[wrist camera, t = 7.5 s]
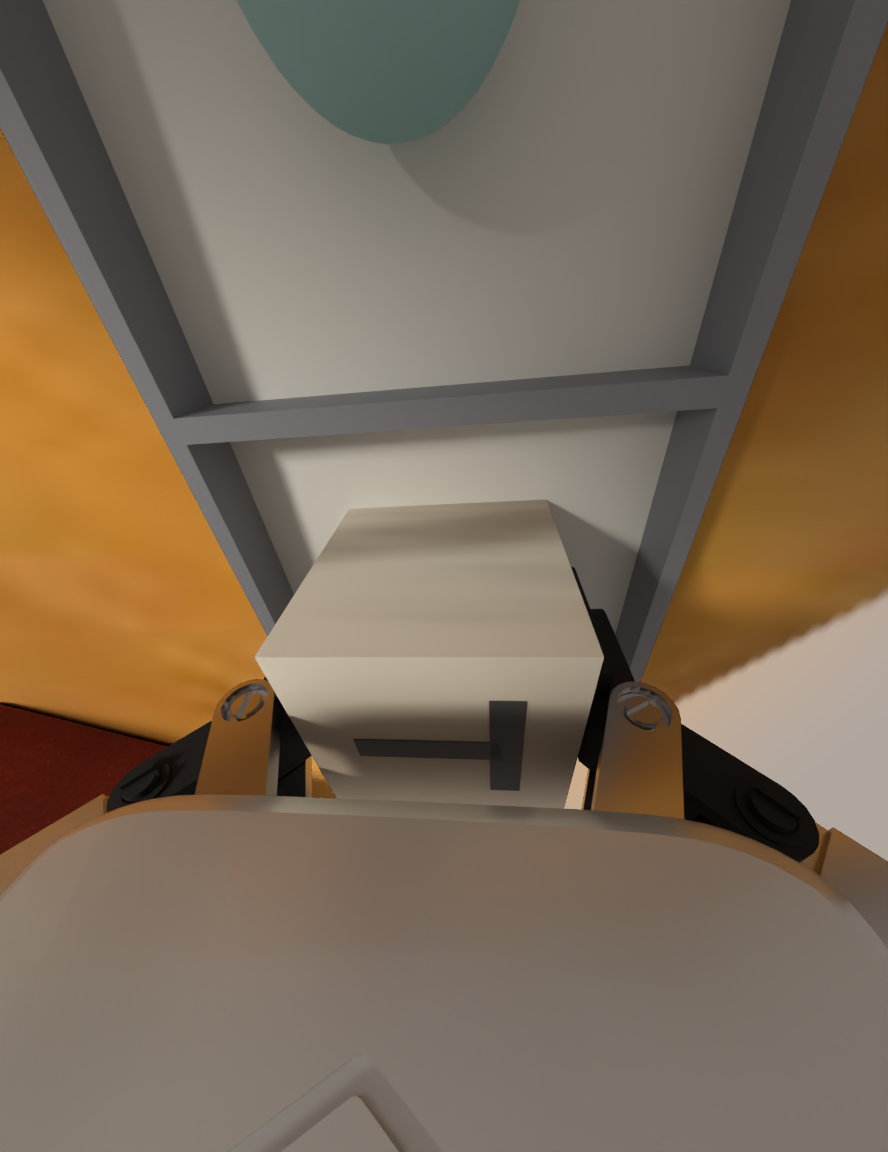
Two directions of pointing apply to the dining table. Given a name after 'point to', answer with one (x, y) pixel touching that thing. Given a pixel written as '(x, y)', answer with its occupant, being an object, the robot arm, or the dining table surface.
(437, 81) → the teal ball
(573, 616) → the letter cube
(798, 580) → the dining table surface
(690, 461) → the compartment box
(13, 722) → the plant pot
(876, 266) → the dining table surface
